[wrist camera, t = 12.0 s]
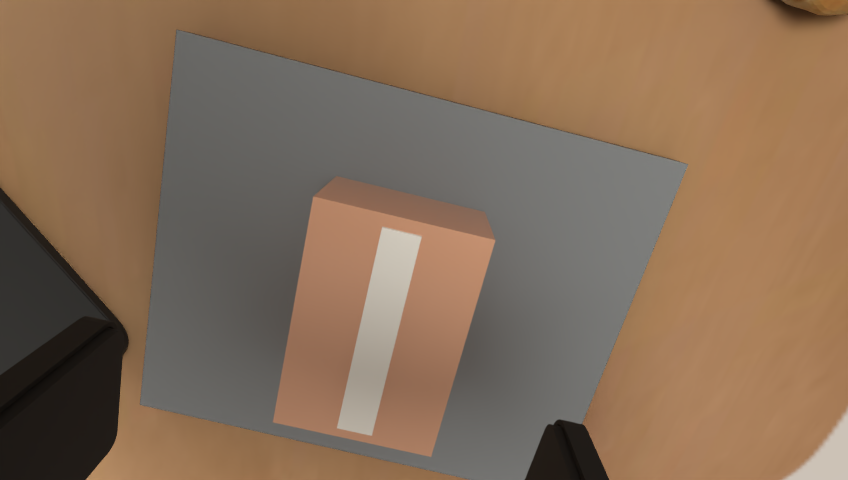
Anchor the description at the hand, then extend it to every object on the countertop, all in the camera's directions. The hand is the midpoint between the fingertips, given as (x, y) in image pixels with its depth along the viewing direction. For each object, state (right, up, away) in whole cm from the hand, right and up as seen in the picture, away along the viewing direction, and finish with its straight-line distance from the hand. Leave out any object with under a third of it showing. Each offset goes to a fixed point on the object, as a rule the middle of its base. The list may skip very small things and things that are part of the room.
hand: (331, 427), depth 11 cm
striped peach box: (+1, +2, +8) cm, 9 cm away
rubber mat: (+1, +2, +9) cm, 10 cm away
